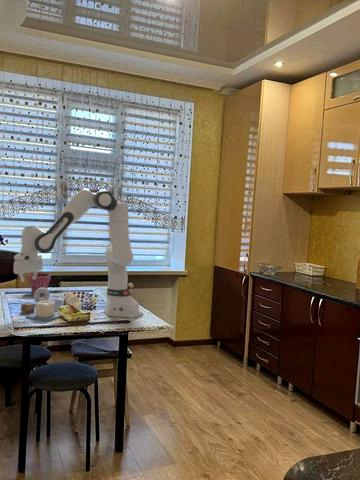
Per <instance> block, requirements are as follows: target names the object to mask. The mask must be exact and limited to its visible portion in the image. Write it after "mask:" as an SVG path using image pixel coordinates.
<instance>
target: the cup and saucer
mask: <svg viewBox="0 0 360 480" xmlns="http://www.w3.org/2000/svg"><path fill="white" fill-rule="evenodd" d="M55 309H56V301H53V300H51V301H50V300H48V301H45V300H44V301H40V302H35V312H33V313H30V314H27V315H26V316H25V319H29V320H36V321H41V322H45V323H48V322H51V321H54V320H56V319H60V318H61V317H60V315H59V314H60V313H59V314H58V312H55V311H56V310H55Z"/></svg>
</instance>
